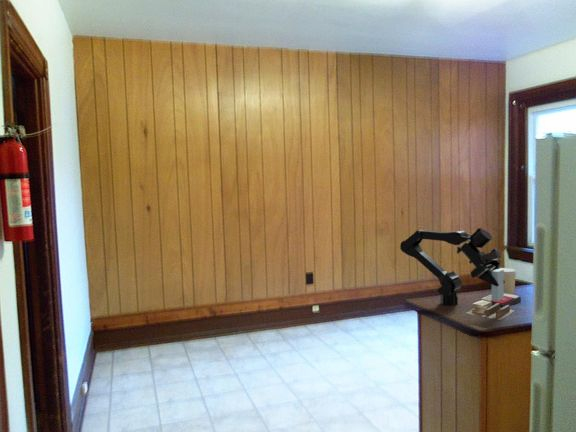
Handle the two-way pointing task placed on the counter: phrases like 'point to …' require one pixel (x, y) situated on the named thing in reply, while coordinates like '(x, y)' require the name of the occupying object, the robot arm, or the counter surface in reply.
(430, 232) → the robot arm
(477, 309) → the offcut stack
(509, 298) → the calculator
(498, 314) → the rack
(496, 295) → the light blue brick
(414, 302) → the counter surface
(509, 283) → the coffee cup
